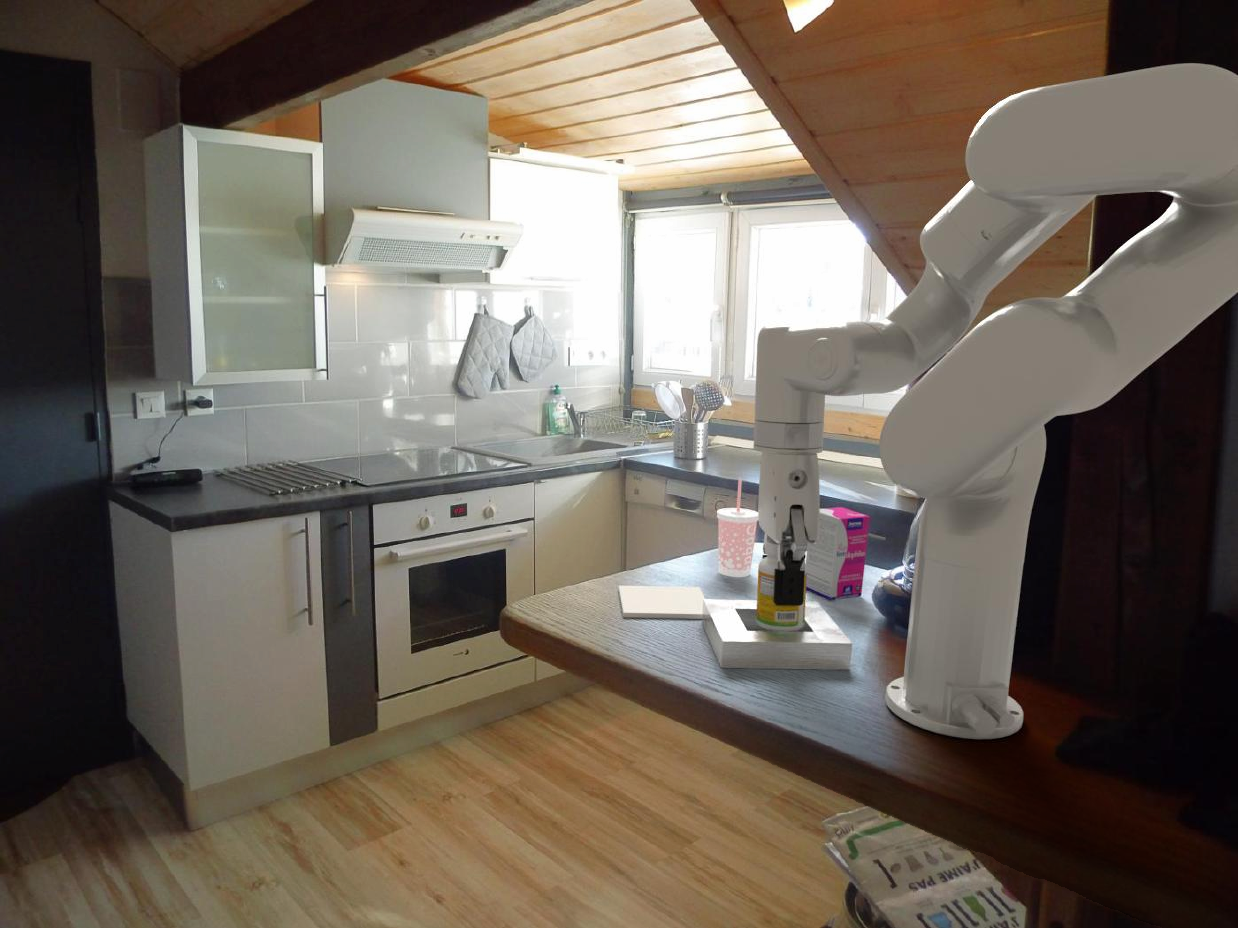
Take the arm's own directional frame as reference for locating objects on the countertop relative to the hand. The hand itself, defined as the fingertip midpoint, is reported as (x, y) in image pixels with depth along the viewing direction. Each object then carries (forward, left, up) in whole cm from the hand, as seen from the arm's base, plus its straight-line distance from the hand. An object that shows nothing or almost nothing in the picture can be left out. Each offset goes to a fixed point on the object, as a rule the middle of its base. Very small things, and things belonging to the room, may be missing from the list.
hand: (781, 594), depth 103 cm
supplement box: (+21, -12, -6) cm, 25 cm away
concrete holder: (+1, +1, -6) cm, 6 cm away
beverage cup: (+30, 0, -6) cm, 30 cm away
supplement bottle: (0, 0, -4) cm, 4 cm away
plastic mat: (+15, +12, -6) cm, 20 cm away
